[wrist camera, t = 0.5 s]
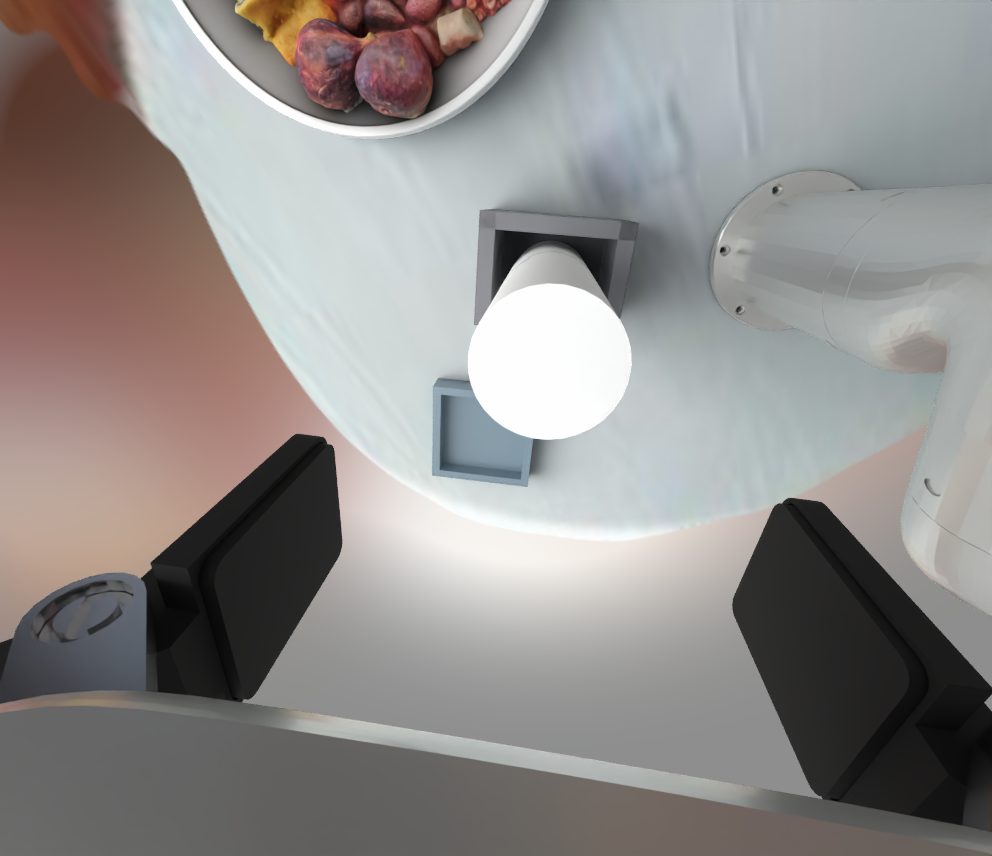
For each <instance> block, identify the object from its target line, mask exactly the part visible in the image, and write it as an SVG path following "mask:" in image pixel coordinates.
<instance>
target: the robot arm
mask: <svg viewBox="0 0 992 856" xmlns="http://www.w3.org/2000/svg"><path fill="white" fill-rule="evenodd" d="M773 187H775V188H776V192H775V193H774V194H773V193H772V189H773ZM721 247H724V251H723V252H722V253H720V249H721ZM709 271H710V282H711V286H712V289H713V293H714V295H715V297H716V299H717V300H718V302H719V304H720V305H721V306H722V308H723V309H724V310H725V311H726V312H727V313H728V314H729V315H731V316H732V317H733V318H735V319H736V320H738V321H740V322H742V323H744V324H745V325H748V326H751V327H754V328H758V329H764V330H783V329H790V328H796V329H798V330H800V331H802V332H804V333H806V334H808V335H810V336H812V337H814V338H816V339H818V340H820V341H822V342H824V343H826V344H828V345H830V346H832V347H834V348H836V349H838V350H840V351H842V352H844V353H846V354H848V355H851V356H853V357H854V358H857V359H859V360H861V361H863V362H865V363H867V364H869V365H872V366H875V367H877V368H880V369H884V370H888V371H893V372H899V373H912V374H916V373H938V372H943V375H942V378H941V382H940V385H939V388H938V391H937V394H936V397H935V400H934V404H935V406H934V409H933V412H932V415H931V418H930V421H929V424H928V428H927V431H926V434H925V436H924V440H923V443H922V445H921V448H920V452H919V455H918V458H917V461H916V464H915V467H914V470H913V473H912V476H911V479H910V483H909V487H908V490H907V493H906V496H905V500H904V504H903V509H902V514H901V523H900V524H901V535H902V539H903V542H904V545H905V548H906V550H907V552H908V553H909V555H910V556H911V558H912V560H913V561H914V563H915V564H916V565H917V566H918V567H919V568H920V569H921V571H922V572H924V573H925V574H926V576H928V577H929V578H930V579H931V580H932V581H933V582H934V583H936V584H937V585H939V586H940V587H941V588H943V589H944V590H946V591H947V592H948V593H950V594H951V595H952V596H954V597H956V598H958V599H959V600H961V601H962V602H964V603H966V604H967V605H969V606H971V607H973V608H975V609H976V610H978V611H981V612H982V613H984V614H986V615H988V616H991V617H992V183H988V184H972V185H953V186H942V187H925V188H904V189H883V190H861V188H859V187H858V186H857V185H856V184H854V183H853V182H852V181H851V180H850V179H847V178H845V177H843V176H841V175H838V174H836V173H831V172H826V171H802V172H796V173H790V174H787V175H784V176H781V177H778V178H775V179H773V180H771V181H769V182H767V183H765V184H764V185H762V186H760V187H758V188H757V189H756V190H754V191H753V192H752V193H750V194H749V195H748V196H746V197H745V198H744V199H743V200H742V201H741V202H740V203H739V204H738V205H737V206H736V207H735V208H734V209H733V210H732V212H731V213H730V215H729V216H728V217H727V219H726V220H725V221H724V223H723V225H722V227H721V229H720V230H719V232H718V234H717V236H716V239H715V242H714V245H713V248H712V251H711V258H710V265H709ZM738 306H740V308H739V310H738V311H735V310H736V308H737V307H738ZM341 548H342V533H341V520H340V509H339V498H338V487H337V475H336V465H335V453H334V448H333V446H332V445H329V444H327V442H326V440H325V438H323V437H319V436H311V435H304V434H295V435H294V436H292V437H291V438H290V439H289V440H288V441H287V442H286V443H284V445H282V446H281V447H280V448H279V449H278V450H277V451H276V452H274V453H273V454H272V455H271V456H270V457H269V458H268V459H266V460H265V461H264V462H263V463H262V464H261V465H260V466H259V467H258V468H256V469H255V470H254V471H253V472H252V473H251V474H250V475H249V476H247V477H246V478H245V479H244V480H243V481H242V482H241V483H240V484H238V486H236V487H235V488H234V489H233V490H232V491H231V492H229V493H228V494H227V495H226V496H225V497H224V498H223V499H222V500H220V501H219V502H218V503H217V504H216V505H215V506H214V507H213V508H212V509H210V510H209V511H208V512H207V513H206V514H205V515H204V516H203V517H201V518H200V519H199V520H198V521H197V522H196V523H195V524H194V525H192V526H191V527H190V528H189V529H188V530H187V531H186V532H185V533H184V534H183V535H181V536H180V537H179V538H178V539H177V540H176V541H175V542H173V543H172V544H171V545H170V546H169V547H168V548H167V549H165V550H164V551H163V552H162V553H161V554H160V555H159V556H158V557H157V558H155V559H154V560H153V561H152V562H151V566H152V569H151V570H150V571H148V572H147V573H146V574H145V575H144V576H143V577H142V578H141V579H140V578H138V577H137V576H135V575H131V574H127V573H105V574H100V575H95V576H90V577H87V578H84V579H81V580H78V581H76V582H73V583H70V584H68V585H66V586H64V587H62V588H60V589H58V590H56V591H54V592H53V593H51V594H49V595H48V596H46V597H45V598H44V599H42V600H41V601H39V602H38V603H37V604H35V605H34V606H33V607H32V608H31V609H30V610H29V611H28V612H27V613H26V614H25V615H24V616H23V617H22V619H21V621H20V623H19V625H18V626H17V628H16V630H15V633H14V637H13V638H12V639H9V640H7V641H4V642H1V643H0V856H992V711H991V710H990V709H989V708H988V707H987V706H986V704H985V703H984V702H985V701H986V700H987V699H988V698H989V697H990V695H991V694H992V687H991V686H990V685H989V684H988V683H987V682H986V681H985V680H984V679H983V677H982V676H981V675H980V674H979V673H978V672H977V671H976V670H975V669H974V667H973V666H972V665H971V664H970V663H969V662H968V661H967V660H966V659H965V658H964V657H963V655H962V654H961V653H960V652H959V651H958V650H957V649H956V648H955V647H954V646H953V645H952V643H951V642H950V641H949V640H948V639H947V638H946V637H945V636H944V635H943V634H942V632H941V631H940V630H939V629H938V628H937V627H936V626H935V625H934V624H933V623H932V621H931V620H929V618H928V617H927V616H926V615H925V614H924V613H923V612H922V610H921V609H920V608H919V607H918V606H917V605H916V604H915V603H914V602H913V601H912V600H911V598H910V597H909V596H908V595H907V594H906V593H905V592H904V591H903V590H902V588H901V587H900V586H899V585H898V584H897V583H896V582H895V581H894V580H893V579H892V578H891V576H890V575H889V574H888V573H887V572H886V571H885V570H884V569H883V568H882V567H881V565H880V564H879V563H878V562H877V561H876V560H875V559H874V558H873V557H872V556H871V554H869V552H868V551H867V550H866V549H865V548H864V547H863V546H862V545H861V544H860V542H859V541H858V540H857V539H856V538H855V537H854V536H853V535H852V534H851V533H850V531H849V530H848V529H847V528H846V527H845V526H844V525H843V524H842V523H841V522H840V520H839V519H838V518H837V517H836V516H835V515H834V514H833V513H832V512H831V511H830V509H829V508H828V507H827V506H826V505H825V504H823V503H822V502H818V501H811V500H803V499H796V498H788V499H786V500H785V501H784V502H783V503H782V504H777V505H776V506H774V508H773V510H772V512H771V514H770V516H769V519H768V521H767V523H766V525H765V528H764V530H763V533H762V535H761V537H760V539H759V541H758V544H757V546H756V548H755V550H754V552H753V555H752V557H751V559H750V562H749V564H748V566H747V568H746V570H745V573H744V575H743V577H742V579H741V582H740V584H739V587H738V589H737V591H736V593H735V596H734V598H733V605H732V606H733V613H734V616H735V619H736V621H737V623H738V626H739V628H740V630H741V632H742V635H743V637H744V639H745V641H746V644H747V645H748V648H749V650H750V652H751V655H752V657H753V659H754V662H755V664H756V666H757V668H758V671H759V673H760V675H761V677H762V680H763V682H764V684H765V686H766V689H767V691H768V693H769V695H770V698H771V700H772V702H773V704H774V707H775V709H776V711H777V713H778V716H779V718H780V720H781V722H782V725H783V727H784V729H785V732H786V734H787V736H788V738H789V741H790V743H791V745H792V747H793V750H794V752H795V754H796V756H797V759H798V761H799V763H800V765H801V768H802V770H803V772H804V774H805V777H806V779H807V781H808V783H809V785H810V787H811V789H812V790H813V791H814V792H815V793H816V794H817V795H819V796H822V798H823V799H818V798H812V797H807V796H801V795H795V794H789V793H783V792H778V791H772V790H766V789H761V788H755V787H749V786H744V785H738V784H732V783H726V782H721V781H715V780H709V779H703V778H698V777H692V776H686V775H681V774H675V773H669V772H663V771H658V770H652V769H646V768H640V767H633V766H628V765H622V764H616V763H610V762H605V761H599V760H593V759H587V758H580V757H575V756H569V755H563V754H557V753H551V752H545V751H539V750H534V749H528V748H522V747H515V746H510V745H504V744H498V743H492V742H486V741H480V740H474V739H468V738H462V737H456V736H450V735H444V734H438V733H431V732H425V731H419V730H413V729H407V728H401V727H395V726H389V725H382V724H376V723H370V722H364V721H358V720H351V719H346V718H339V717H333V716H327V715H321V714H315V713H309V712H303V711H297V710H290V709H283V708H276V707H269V706H262V705H255V704H248V703H242V701H243V699H247V700H248V699H250V698H252V697H253V696H254V695H255V693H256V692H257V691H258V689H259V687H260V686H261V684H262V682H263V681H264V679H265V678H266V676H267V674H268V673H269V671H270V669H271V668H272V666H273V664H274V663H275V661H276V659H277V658H278V656H279V654H280V653H281V651H282V650H283V648H284V646H285V645H286V643H287V641H288V639H289V638H290V636H291V635H292V633H293V631H294V630H295V628H296V626H297V625H298V623H299V621H300V620H301V618H302V617H303V615H304V613H305V611H306V610H307V608H308V607H309V605H310V603H311V602H312V600H313V598H314V597H315V595H316V593H317V592H318V590H319V589H320V587H321V585H322V583H323V582H324V580H325V579H326V577H327V575H328V574H329V572H330V570H331V569H332V567H333V565H334V563H335V562H336V560H337V559H338V557H339V555H340V552H341Z"/></svg>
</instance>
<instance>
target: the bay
mask: <svg viewBox="0 0 992 856" xmlns="http://www.w3.org/2000/svg"><path fill="white" fill-rule="evenodd" d="M638 224H639V223H636V222H631V221H626V220H619V219H606V218H594V217H582V216H569V215H557V214H545V213H532V212H520V211H508V210H495V209H488V210H480V217H479V237H478V257H477V277H476V297H475V317H474V325H478V324H479V322H480V320H481V319H482V317H483V316H484V314H485V312H486V311H487V309H488V307H489V306H490V304H491V302H492V301H493V299H494V297H495V296H496V294H497V292H498V291H499V289H500V282H501V268H502V254H503V241H504V230H508V231H520V232H532V233H544V234H556V235H568V236H579V237H591V238H603V239H605V242H604V248H603V254H602V260H601V267H600V273H599V279H598V285H599V287H600V288H601V290H602V292H603V293H604V295H605V296H606V298H607V300H608V301H609V303H610V305H611V306H612V308H613V309H614V311H615V313H616V314H617V316H618V317H619V319H620V316H621V311H622V306H623V301H624V296H625V291H626V285H627V280H628V275H629V270H630V265H631V260H632V255H633V249H634V244H635V239H636V234H637V229H638Z"/></svg>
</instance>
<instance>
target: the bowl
mask: <svg viewBox="0 0 992 856" xmlns="http://www.w3.org/2000/svg"><path fill="white" fill-rule="evenodd" d="M173 2H174V4H175V5H176V7H177V9H178V10H179V12H180V13H181V15H182V16H183V18H184V19H185V21H186V22H187V24H188V25H189V27H190V28H191V29H192V31H193V32H194V33H195V35H196V36H197V38H198V39H199V40H200V41H201V43H202V44H203V45H204V46H205V48H206V49H207V50H208V51H209V52H210V54H211V55H212V56H213V57H214V58H215V59H216V60H217V61H218V63H219V64H220V65H221V66H222V67H223V68H224V69H225V70H226V71H227V72H228V73H229V74H230V75H231V76H232V77H233V78H234V79H236V80H237V81H238V82H239V83H240V84H241V85H242V86H243V87H245V88H246V89H247V90H248V91H250V92H251V93H252V94H253V95H254V96H256V97H257V98H259V99H260V100H261V101H263V102H264V103H266V104H267V105H269V106H270V107H272V108H273V109H275V110H277V111H278V112H280V113H282V114H284V115H286V116H287V117H289V118H291V119H293V120H296V121H298V122H300V123H302V124H304V125H307V126H310V127H312V128H315V129H318V130H321V131H325V132H328V133H331V134H336V135H340V136H345V137H352V138H360V139H386V138H396V137H401V136H407V135H411V134H414V133H418V132H421V131H424V130H427V129H430V128H432V127H434V126H437V125H439V124H441V123H443V122H445V121H447V120H449V119H451V118H453V117H454V116H456V115H457V114H459V113H461V112H462V111H464V110H465V109H466V108H468V107H469V106H470V105H472V104H473V103H474V102H476V101H477V100H478V99H479V98H480V97H482V96H483V95H484V94H485V93H486V92H487V91H488V90H489V89H490V88H491V87H492V86H493V85H494V84H495V83H496V82H497V81H498V80H499V79H500V78H501V77H502V75H503V74H504V73H505V72H506V71H507V70H508V68H509V67H510V66H511V65H512V63H513V62H514V61H515V59H516V58H517V57H518V55H519V54H520V52H521V51H522V49H523V48H524V46H525V45H526V43H527V42H528V40H529V38H530V37H531V35H532V33H533V32H534V30H535V28H536V26H537V24H538V22H539V20H540V19H541V17H542V15H543V12H544V10H545V8H546V6H547V4H548V2H549V0H173Z"/></svg>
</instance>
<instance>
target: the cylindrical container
mask: <svg viewBox="0 0 992 856" xmlns="http://www.w3.org/2000/svg"><path fill="white" fill-rule="evenodd" d="M631 367H632V362H631V347H630V343H629V339H628V335H627V333H626V331H625V329H624V327H623V325H622V323H621V321H620V319H619V317H618V316H617V314H616V313H615V311H614V309H613V308H612V306H611V305H610V303H609V301H608V300H607V298H606V296H605V295H604V293H603V292H602V290H601V288H600V287H599V285H598V283H597V282H596V280H595V279H594V277H593V275H592V274H591V272H590V271H589V269H588V267H587V266H586V264H585V262H584V261H583V259H582V258H581V256H580V255H579V254H578V252H577V251H575V250H574V249H573V248H572V247H570V246H569V245H567V244H565V243H562V242H558V241H543V242H539V243H536V244H534V245H532V246H530V247H529V248H527V249H526V250H525V251H524V252H523V253H522V254H521V255H520V256H519V258H518V259H517V260H516V262H515V264H514V265H513V267H512V269H511V270H510V272H509V274H508V275H507V277H506V279H505V280H504V282H503V284H502V285H501V287H500V289H499V291H498V292H497V294H496V296H495V297H494V299H493V301H492V302H491V304H490V306H489V307H488V309H487V311H486V312H485V314H484V316H483V317H482V319H481V320H480V322H479V324H478V326H477V328H476V330H475V332H474V334H473V337H472V340H471V344H470V348H469V352H468V372H469V378H470V383H471V386H472V388H473V391H474V393H475V396H476V398H477V400H478V401H479V403H480V404H481V406H482V407H483V409H484V410H485V411H486V412H487V413H488V414H489V415H490V416H491V417H492V419H494V420H495V421H496V422H498V423H499V424H500V425H502V426H503V427H504V428H506V429H508V430H510V431H512V432H514V433H516V434H519V435H522V436H526V437H530V438H534V439H545V440H552V439H564V438H567V437H571V436H575V435H578V434H580V433H583V432H585V431H587V430H589V429H591V428H593V427H594V426H595V425H597V424H598V423H600V422H601V421H603V420H604V419H605V418H606V417H607V416H608V415H609V414H610V413H611V412H612V411H613V410H614V408H615V407H616V405H617V404H618V403H619V401H620V400H621V398H622V397H623V394H624V392H625V390H626V387H627V385H628V382H629V377H630V372H631Z"/></svg>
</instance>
